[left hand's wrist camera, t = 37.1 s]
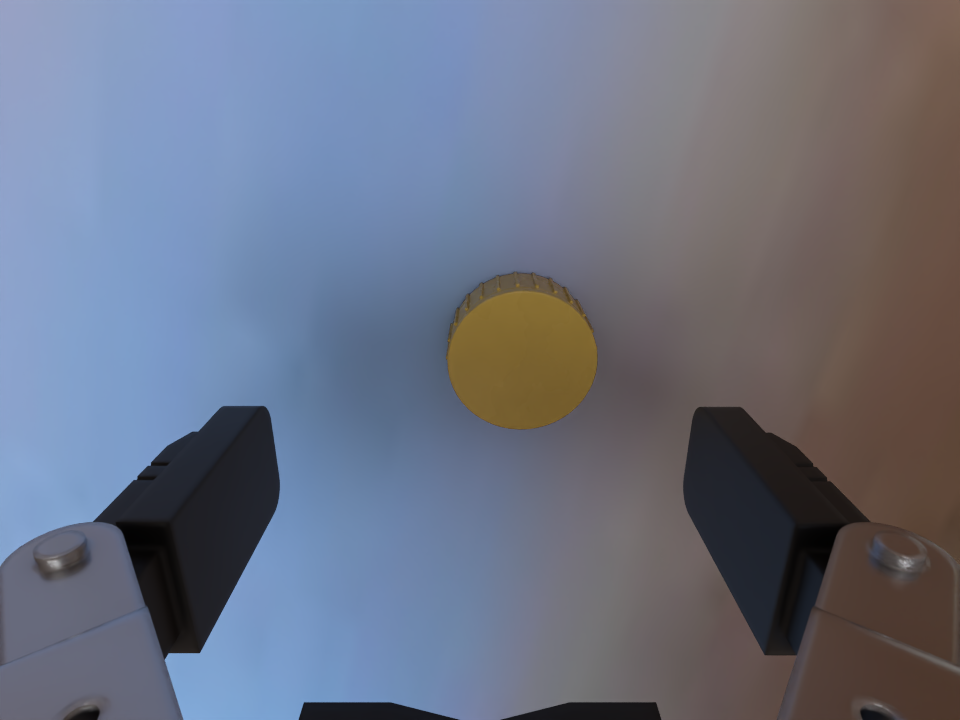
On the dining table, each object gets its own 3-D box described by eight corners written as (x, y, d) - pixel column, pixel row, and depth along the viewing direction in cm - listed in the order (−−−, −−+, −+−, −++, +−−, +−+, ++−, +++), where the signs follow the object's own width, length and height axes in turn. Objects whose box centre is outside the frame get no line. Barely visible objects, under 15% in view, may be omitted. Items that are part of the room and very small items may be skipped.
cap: (510, 241, 15) (513, 255, 14) (617, 329, 16) (632, 353, 15) (421, 348, 17) (414, 373, 15) (526, 425, 17) (530, 457, 16)
